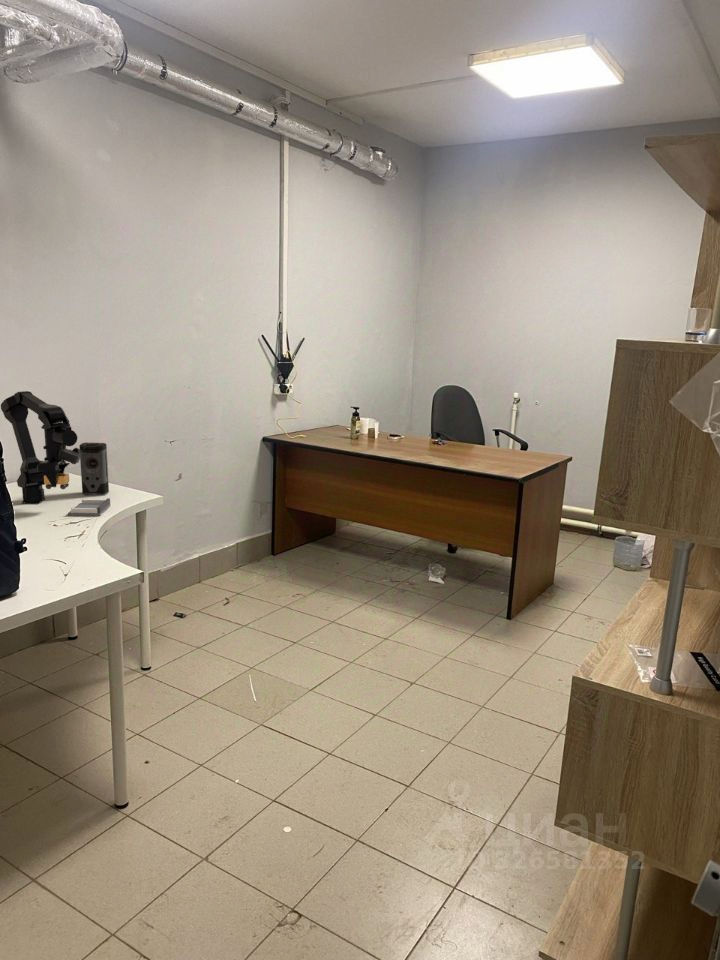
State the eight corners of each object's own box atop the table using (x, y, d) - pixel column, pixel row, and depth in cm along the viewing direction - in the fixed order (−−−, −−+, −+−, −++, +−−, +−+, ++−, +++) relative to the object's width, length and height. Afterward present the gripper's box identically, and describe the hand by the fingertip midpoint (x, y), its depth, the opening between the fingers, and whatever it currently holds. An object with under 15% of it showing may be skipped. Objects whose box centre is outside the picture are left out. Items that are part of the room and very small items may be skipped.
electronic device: (81, 495, 268) (78, 444, 264) (86, 491, 274) (83, 442, 269) (105, 495, 269) (102, 445, 264) (110, 491, 274) (107, 442, 270)
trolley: (44, 489, 243) (43, 476, 242) (49, 486, 248) (48, 472, 246) (65, 490, 244) (64, 476, 242) (69, 486, 248) (68, 473, 247)
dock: (68, 515, 242) (67, 507, 241) (80, 505, 254) (79, 497, 254) (100, 516, 243) (99, 507, 242) (110, 506, 255) (110, 498, 254)
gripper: (68, 448, 233) (71, 492, 237) (85, 438, 251) (88, 479, 255) (34, 447, 232) (38, 491, 236) (54, 437, 250) (57, 479, 254)
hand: (57, 485), depth 245 cm, fingers closed on trolley, 5 cm apart
